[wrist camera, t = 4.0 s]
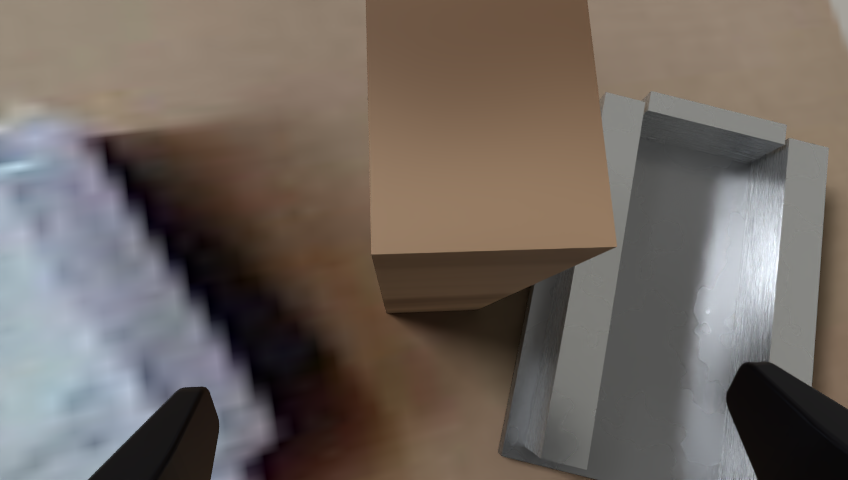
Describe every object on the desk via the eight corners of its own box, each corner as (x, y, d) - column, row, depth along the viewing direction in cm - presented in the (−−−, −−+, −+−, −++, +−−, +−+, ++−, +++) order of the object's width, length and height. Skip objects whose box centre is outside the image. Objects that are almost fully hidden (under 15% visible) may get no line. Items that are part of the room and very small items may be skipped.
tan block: (477, 309, 19) (617, 246, 7) (386, 313, 19) (371, 254, 7) (468, 161, 21) (574, -106, 8) (382, 163, 20) (363, -109, 8)
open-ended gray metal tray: (765, 518, 18) (823, 545, 16) (497, 452, 18) (514, 469, 16) (795, 164, 21) (849, 140, 19) (565, 107, 21) (588, 75, 19)
